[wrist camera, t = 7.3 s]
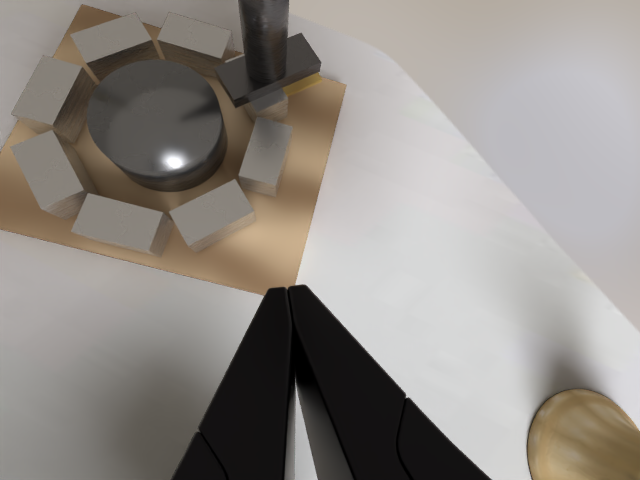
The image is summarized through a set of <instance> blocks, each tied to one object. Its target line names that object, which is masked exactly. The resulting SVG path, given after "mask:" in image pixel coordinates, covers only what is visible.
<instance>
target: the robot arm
mask: <svg viewBox="0 0 640 480" xmlns="http://www.w3.org/2000/svg"><path fill="white" fill-rule="evenodd" d="M295 379H296V386H297V391H298V396H299V401H300V405H301V409H302V414H303V418H304V422H305V427H306V431H307V435H308V439H309V444H310V448H311V452H312V457H313V461H314V465H315V469H316V474H317V478H318V480H492V479H490V478H489V477H488V476H487V475H486V474H485V473H484V472H483V471H482V470H481V469H480V468H479V467H477V466H476V465H475V464H474V463H473V462H472V461H471V460H470V459H469V458H468V457H467V456H466V455H465V454H464V453H463V452H462V451H460V450H459V449H458V448H457V447H456V446H455V445H454V444H453V443H452V442H451V441H450V440H449V439H448V438H447V437H446V436H445V435H444V434H443V433H442V432H441V431H440V430H439V429H438V428H437V427H436V425H435V424H434V423H433V422H432V421H431V420H430V419H429V418H428V417H427V416H426V415H425V414H424V413H423V412H422V411H421V410H420V409H419V407H418V406H417V405H416V404H415V403H414V402H413V401H412V400H411V399H410V398H409V397H408V398H406V394H405V392H404V391H403V390H402V389H401V388H400V387H399V386H398V385H397V384H396V382H395V381H394V380H393V379H392V378H391V377H390V376H389V375H388V374H387V373H386V372H385V370H384V369H383V368H382V367H381V366H380V365H379V364H378V363H377V362H376V361H375V360H374V358H373V357H372V356H371V355H370V354H369V353H368V352H367V351H366V350H365V349H364V348H363V346H362V345H361V344H360V343H359V342H358V341H357V340H356V339H355V338H354V337H353V336H352V334H351V333H350V332H349V331H348V330H347V329H346V328H345V327H344V326H343V325H342V324H341V322H340V321H339V320H338V319H337V318H336V317H335V316H334V315H333V314H332V313H331V312H330V310H329V309H328V308H327V307H326V306H325V305H324V304H323V303H322V302H321V301H320V300H319V298H318V297H317V296H316V295H315V294H314V293H313V292H312V291H311V290H310V289H309V288H308V286H306V285H294V286H289V287H288V290H287V288H286V287H274V288H269V289H268V290H267V292H266V294H265V296H264V298H263V300H262V302H261V304H260V306H259V308H258V310H257V312H256V314H255V315H254V317H253V319H252V321H251V323H250V325H249V327H248V329H247V331H246V333H245V335H244V337H243V339H242V341H241V343H240V345H239V347H238V349H237V351H236V353H235V355H234V357H233V359H232V361H231V363H230V365H229V367H228V369H227V371H226V373H225V375H224V377H223V379H222V381H221V383H220V385H219V387H218V389H217V391H216V393H215V395H214V397H213V399H212V401H211V403H210V405H209V406H208V408H207V410H206V412H205V414H204V416H203V418H202V420H201V422H200V424H199V426H198V431H199V432H196V433H195V434H194V436H193V438H192V440H191V442H190V444H189V446H188V448H187V450H186V452H185V453H184V455H183V457H182V459H181V461H180V463H179V465H178V467H177V469H176V470H175V472H174V474H173V476H172V478H171V480H294V477H295V410H296V386H295Z"/></svg>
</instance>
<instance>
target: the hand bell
mask: <svg viewBox="0 0 640 480" xmlns="http://www.w3.org/2000/svg"><path fill="white" fill-rule="evenodd" d="M528 461H529V467H530V472H531V476H532V479H533V480H640V431H639V430H638V428H637V427H636V425H635V424H634V422H633V421H632V420H631V418H630V417H629V416H628V415H627V414H626V413H625V412H624V411H623V410H622V409H621V408H620V407H619V406H618V405H616V404H615V403H614V402H613V401H611V400H610V399H608V398H607V397H605V396H603V395H601V394H598V393H596V392H593V391H590V390H585V389H571V390H566V391H563V392H560V393H558V394H556V395H554V396H553V397H551V398H549V399H548V400H547V401H546V402H545V403H544V404H543V406H542V407H541V408H540V409H539V410H538V412H537V414H536V416H535V418H534V420H533V423H532V426H531V429H530V433H529V439H528Z"/></svg>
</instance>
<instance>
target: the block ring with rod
mask: <svg viewBox="0 0 640 480" xmlns="http://www.w3.org/2000/svg"><path fill="white" fill-rule="evenodd" d="M238 4H239V12H240V21H241V29H242V38H243V46H244V54H242V55H239V56H237V57H235V49H234V43H233V36H232V31H230V30H227V29H224V28H220V27H217V26H214V25H210V24H207V23H204V22H201V21H197V20H194V19H191V18H187V17H184V16H181V15H178V14H174V13H171V12H169V13H168V16H167V18H166V20H165V22H164V24H163V27H162V29H161V31H160V33H159V36H158V38H157V41H158V43H159V46H160V48H161V50H162V53H163V55H164V57H165V60H166V61H172V62H176V63H179V64H182V65H185V66H187V67H189V68H191V69H192V70H194V71H196V72H197V73H200V74H204V75H207V76H211V77H214V78H217V79H218V81H219V82H220V84H221V86H222V87H223V89H224V90H225V92H226V94H227V95H228V97H229V98H230V100H231V102H232V103H233V105H234V107H235V108H237V107H240V106H242V105H243V106H244V108H245V109H246V111H247V113H248V114H249V116H250V117H251V119H252V121H253V122H254V124H255V126H254V129H253V132H252V135H251V138H250V141H249V144H248V147H247V150H246V153H245V156H244V159H243V163H242V166H241V169H240V172H239V175H238V176H239V180H240V184H241V187H242V189H245V190H249V191H253V192H256V193H260V194H264V195H268V196H271V197H275V198H276V195H277V191H278V188H279V184H280V181H281V177H282V174H283V170H284V167H285V163H286V160H287V156H288V153H289V150H290V146H291V141H292V130H293V126H289V125H286V124H282V123H279V122H278V121H280V120H282V119H284V118H286V117H287V111H288V97H287V95H286V94H285V92H284V91H283V89H282V88H283V87H285V86H288V85H290V84H292V83H295V82H297V81H299V80H301V79H304V78H306V77H308V76H311V75H313V74H315V73H317V72H320V66H321V61H320V60H319V58H318V57H317V55H316V54H315V52H314V51H313V49H312V48H311V46H310V45H309V43H308V42H307V40H306V39H305V37H304V36H303V35H302V33H299V34H297V35H294V36H292V37H289V38H287V36H288V13H289V0H238ZM70 36H71V37H72V39H73V41H74V43H75V44H76V46H77V48H78V50H79V52H80V53H81V55H82V57H83V59H84V61H85V62H86V64H87V65H88V67H89V68H90V69H91V71H92V72H93V73H94V75H95V76H96V77H97V79H98V80H99V81H100V82H101V81H102V80H103V79H104V78H105V77H106V76H108V75H109V74H110V73H112V72H113V71H115V70H117V69H118V68H120V67H123V66H125V65H127V64H130V63H134V62H138V61H143V60H161V59H160V57H159V54H158V52H157V50H156V48H155V45H154V43H153V41H152V39H151V37H150V36H149V34H148V32H147V31H146V29H145V27H144V26H143V24H142V22H141V20H140V19H139V17H138V15H137V14H136V12H135V13H132V14H129V15H126V16H123V17H120V18H117V19H114V20H111V21H108V22H105V23H102V24H100V25H97V26H94V27H91V28H88V29H85V30H82V31H79V32H76V33H73V34H70ZM96 87H97V85H96V84H95V82H94V81H93V80H92V78H91V77H90V76H89V74H88V73H87V72H86V71H85V69H84V68H83V67H82V66H79V65H76V64H72V63H69V62H65V61H62V60H58V59H55V58H51V57H48V56H44V55H43V57H42V59H41V60H40V62H39V64H38V66H37V68H36V69H35V71H34V73H33V75H32V77H31V79H30V80H29V82H28V84H27V86H26V88H25V89H24V91H23V93H22V95H21V97H20V99H19V100H18V102H17V104H16V106H15V108H14V109H13V111H12V113H11V114H12V115H13V116H15V117H16V118H17V119H18V120H20V121H21V122H22V123H24V124H25V125H26V126H28V127H29V128H30V129H32V130H33V131H34V132H35V133H37V134H40V135H38V136H35V137H33V138H30V139H28V140H25V141H23V142H20V143H18V144H15V145H13V146H10V148H11V150H12V152H13V154H14V156H15V158H16V160H17V162H18V164H19V166H20V168H21V170H22V172H23V174H24V176H25V178H26V180H27V182H28V184H29V186H30V188H31V190H32V192H33V194H34V196H35V198H36V200H37V202H38V204H39V206H40V208H41V209H42V210H44V211H46V212H49V213H51V214H53V215H55V216H57V217H60V218H62V219H64V220H66V219H68V218H71V217H73V216H75V215H77V214H78V216H77V219H76V221H75V223H74V225H73V228H72V230H71V232H73V233H75V234H78V235H80V236H83V237H85V238H88V239H90V240H93V241H97V242H101V243H105V244H109V245H113V246H117V247H121V248H125V249H129V250H133V251H137V252H141V253H145V254H149V255H153V256H157V257H162V255H163V252H164V249H165V246H166V244H167V241H168V238H169V236H170V233H171V230H172V227H173V225H174V222H175V224H176V226H177V228H178V229H179V231H180V233H181V235H182V237H183V238H184V240H185V242H186V244H187V246H188V247H190V248H191V249H192V250H193V251H195V252H196V253H197V252H199V251H201V250H203V249H205V248H207V247H209V246H211V245H212V244H214V243H216V242H218V241H220V240H222V239H224V238H225V237H227V236H229V235H231V234H233V233H235V232H237V231H239V230H240V229H242V228H244V227H246V226H248V225H250V224H252V223H254V222H255V221H256V217H255V212H254V210H253V208H252V206H251V205H250V203H249V201H248V200H247V198H246V196H245V195H244V193H243V191H242V190H241V188H240V186H239V185H238V183H237V181H236V180H235V179H234V180H232V181H230V182H228V183H226V184H224V185H222V186H220V187H218V188H216V189H214V190H212V191H210V192H208V193H206V194H204V195H202V196H200V197H198V198H196V199H194V200H191V201H189V202H187V203H185V204H183V205H181V206H179V207H177V208H175V209H173V210H171V211H169V213H170V215H171V217H172V219H173V220H174V222H173V221H172V220H171V219H170V218H169V217H168V216H167V215H165V214H164V213H163V212H160V211H156V210H152V209H148V208H144V207H141V206H137V205H133V204H129V203H125V202H121V201H117V200H113V199H110V198H106V197H102V196H99V194H98V192H97V190H96V188H95V186H94V184H93V183H92V181H91V179H90V177H89V175H88V173H87V171H86V169H85V167H84V166H83V164H82V162H81V160H80V158H79V156H78V154H77V152H76V150H75V149H74V147H73V146H71V145H70V144H69V143H68V142H70V143H75V141H76V139H77V137H78V135H79V132H80V130H81V128H82V126H83V124H84V122H85V120H86V118H87V108H88V104H89V100H90V98H91V96H92V94H93V92H94V90H95V89H96Z"/></svg>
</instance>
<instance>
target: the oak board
mask: <svg viewBox="0 0 640 480" xmlns="http://www.w3.org/2000/svg"><path fill="white" fill-rule="evenodd" d="M120 17H122V16H119V15H116V14H113V13H109V12H106V11H103V10H99V9H96V8H93V7H90V6H86V5H83V4H82V5H81V7H80V9H79V10H78V12H77V14H76V16H75V18H74V19H73V21H72V23H71V25H70V27H69V29H68V30H67V32H66V34H65V36H64V38H63V39H62V41H61V43H60V45H59V47H58V49H57V50H56V52H55V54H54V56H53V58H55V59H58V60H62V61H65V62H69V63H72V64H76V65H79V66H82V67H83V68H84V69H85V71H86V72H87V73H88V74H89V76H90V77H91V78H92V80H93V81H94V82H95V84H96V85H97V86H98V85H99V83H100V81H99V80H98V79H97V77H96V76H95V75H94V73H93V72H92V71H91V69H90V68H89V67H88V65H87V64H86V62H85V61H84V59H83V57H82V55H81V53H80V52H79V50H78V48H77V46H76V44H75V43H74V41H73V39H72V37H71V36H70V34H73V33H76V32H79V31H82V30H85V29H88V28H91V27H94V26H97V25H100V24H102V23H105V22H108V21H111V20H114V19H117V18H120ZM142 24H143V26H144V27H145V29H146V31H147V32H148V34H149V36H150V37H151V39H152V41H153V43H154V45H155V48H156V50H157V52H158V54H159V57H160V59H161V60H165V57H164V55H163V53H162V50H161V48H160V46H159V43H158V41H157V38H158V36H159V33H160V31H161V29H162V28H158V27H155V26H152V25H149V24H145V23H142ZM242 54H244V53H240V52H237V51H235V57H237V56H239V55H242ZM199 74H200V73H199ZM200 75H201V76H202V77H203V78H204V79H205V80H206V81H207V82H208V83H209V84H210V86H211V87H212V88H213V90H214V92H215V94H216V96H217V99H218V102H219V105H220V109H221V112H222V116H223V120H224V124H225V128H226V131H227V137H228V146H227V152H226V156H225V158H224V161H223V163H222V164H221V166H220V168H219V169H218V170H217V171H216V173H215V174H214V175H213V176H211V177H210V178H209V179H208V180H206V181H205V182H204V183H202V184H200V185H198V186H196V187H194V188H191V189H188V190H184V191H179V192H159V191H155V190H151V189H148V188H145V187H143V186H141V185H139V184H137V183H136V182H134V181H132V180H131V179H130V178H129V177H128V176H127V175H126V174H125V173H124V172H122V171H121V170H120V169H119V168H118V167H117V166H116V165H115V164H114V163H113V162H112V161H111V160H110V159H109V158H108V157H107V156H106V155H104V154H103V153H102V152H101V150H100V149H99V148H98V147H97V146H96V144H95V143H94V141H93V140H92V137H91V135H90V133H89V130H88V126H87V118H86V120H85V122H84V124H83V126H82V128H81V130H80V132H79V135H78V137H77V139H76V141H75V143H70V142H68V143H69V144H70V145H71V146H73V147H74V149H75V150H76V152H77V154H78V156H79V158H80V160H81V162H82V164H83V166H84V167H85V169H86V171H87V173H88V175H89V177H90V179H91V181H92V183H93V184H94V186H95V188H96V190H97V192H98V194H99V196H102V197H106V198H110V199H113V200H117V201H121V202H125V203H129V204H133V205H137V206H141V207H144V208H148V209H152V210H156V211H160V212H163V213H164V214H165V215H167V216H168V217H169V218H170V219H171V220H172V221H173V222H174V220H173V219H172V217H171V215H170V213H169V211H171V210H173V209H175V208H177V207H179V206H181V205H183V204H185V203H187V202H189V201H191V200H194V199H196V198H198V197H200V196H202V195H204V194H206V193H208V192H210V191H212V190H214V189H216V188H218V187H220V186H222V185H224V184H226V183H228V182H230V181H232V180H234V179H235V180H236V181H237V183H238V185H239V186H240V188H241V190H242V191H243V193H244V195H245V196H246V198H247V200H248V201H249V203H250V205H251V206H252V208H253V210H254V212H255V217H256V221H255V222H254V223H252V224H250V225H248V226H246V227H244V228H242V229H240V230H239V231H237V232H235V233H233V234H231V235H229V236H227V237H225V238H224V239H222V240H220V241H218V242H216V243H214V244H212V245H211V246H209V247H207V248H205V249H203V250H201V251H199V252H197V253H196V252H195V251H193V250H192V249H191V248H190V247H188V246H187V244H186V242H185V240H184V238H183V237H182V235H181V233H180V231H179V229H178V228H177V226H176V224H175V222H174V225H173V227H172V230H171V233H170V236H169V238H168V241H167V244H166V246H165V249H164V252H163V255H162V257H157V256H153V255H149V254H145V253H141V252H137V251H133V250H129V249H125V248H121V247H117V246H113V245H109V244H105V243H101V242H97V241H93V240H90V239H88V238H85V237H83V236H80V235H78V234H75V233H73V232H71V230H72V228H73V225H74V223H75V221H76V219H77V216H78V214H77V215H75V216H73V217H71V218H68V219H66V220H64V219H62V218H60V217H57V216H55V215H53V214H51V213H49V212H46V211H44V210H42V209H41V208H40V206H39V204H38V202H37V200H36V198H35V196H34V194H33V192H32V190H31V188H30V186H29V184H28V182H27V180H26V178H25V176H24V174H23V172H22V170H21V168H20V166H19V164H18V162H17V160H16V158H15V156H14V154H13V152H12V150H11V148H10V146H13V145H15V144H18V143H20V142H23V141H25V140H28V139H30V138H33V137H35V136H38V135H40V134H37V133H35V132H34V131H33V130H32V129H30V128H29V127H28V126H26V125H25V124H24V123H22V122H21V121H20V120H18V121H17V123H16V125H15V127H14V129H13V130H12V132H11V134H10V136H9V138H8V140H7V141H6V143H5V145H4V147H3V149H2V151H1V152H0V229H2V230H6V231H10V232H14V233H17V234H21V235H25V236H29V237H33V238H37V239H41V240H45V241H49V242H53V243H57V244H61V245H65V246H69V247H73V248H77V249H81V250H85V251H89V252H93V253H97V254H101V255H105V256H109V257H113V258H117V259H121V260H125V261H129V262H133V263H137V264H141V265H145V266H149V267H153V268H157V269H161V270H165V271H169V272H173V273H177V274H181V275H185V276H189V277H193V278H197V279H201V280H205V281H209V282H212V283H216V284H220V285H224V286H228V287H232V288H236V289H240V290H244V291H248V292H252V293H256V294H260V295H264V296H265V294H266V292H267V290H268V289H269V288H274V287H286V288H287V290H288V287H289V286H294V285H295V283H296V279H297V275H298V271H299V267H300V263H301V259H302V255H303V252H304V248H305V244H306V240H307V236H308V232H309V228H310V224H311V221H312V217H313V213H314V209H315V205H316V201H317V197H318V193H319V190H320V186H321V182H322V178H323V174H324V170H325V166H326V163H327V159H328V155H329V151H330V147H331V143H332V139H333V135H334V132H335V128H336V124H337V120H338V116H339V112H340V108H341V104H342V101H343V97H344V93H345V89H346V85H345V84H342V83H339V82H336V81H332V80H329V79H326V78H323V77H321V76H320V75H319V73H318V72H317V73H315V74H313V75H311V76H308V77H306V78H304V79H301V80H299V81H297V82H295V83H292V84H290V85H288V86H285V87H283V88H282V89H283V91H284V92H285V94H286V95H287V97H288V111H287V117H286V118H284V119H282V120H280V121H278V122H279V123H282V124H286V125H289V126H293V130H292V141H291V146H290V150H289V153H288V156H287V160H286V163H285V167H284V170H283V174H282V177H281V181H280V184H279V188H278V191H277V195H276V198H275V197H271V196H268V195H264V194H260V193H256V192H253V191H249V190H245V189H242V187H241V184H240V180H239V176H238V175H239V172H240V169H241V166H242V163H243V159H244V156H245V153H246V150H247V147H248V144H249V141H250V138H251V135H252V132H253V129H254V126H255V124H254V122H253V121H252V119H251V117H250V116H249V114H248V113H247V111H246V109H245V108H244V106H243V105H242V106H240V107H237V108H235V107H234V105H233V103H232V102H231V100H230V98H229V97H228V95H227V94H226V92H225V90H224V89H223V87H222V86H221V84H220V82H219V81H218V79H217V78H214V77H211V76H207V75H204V74H200Z"/></svg>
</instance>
